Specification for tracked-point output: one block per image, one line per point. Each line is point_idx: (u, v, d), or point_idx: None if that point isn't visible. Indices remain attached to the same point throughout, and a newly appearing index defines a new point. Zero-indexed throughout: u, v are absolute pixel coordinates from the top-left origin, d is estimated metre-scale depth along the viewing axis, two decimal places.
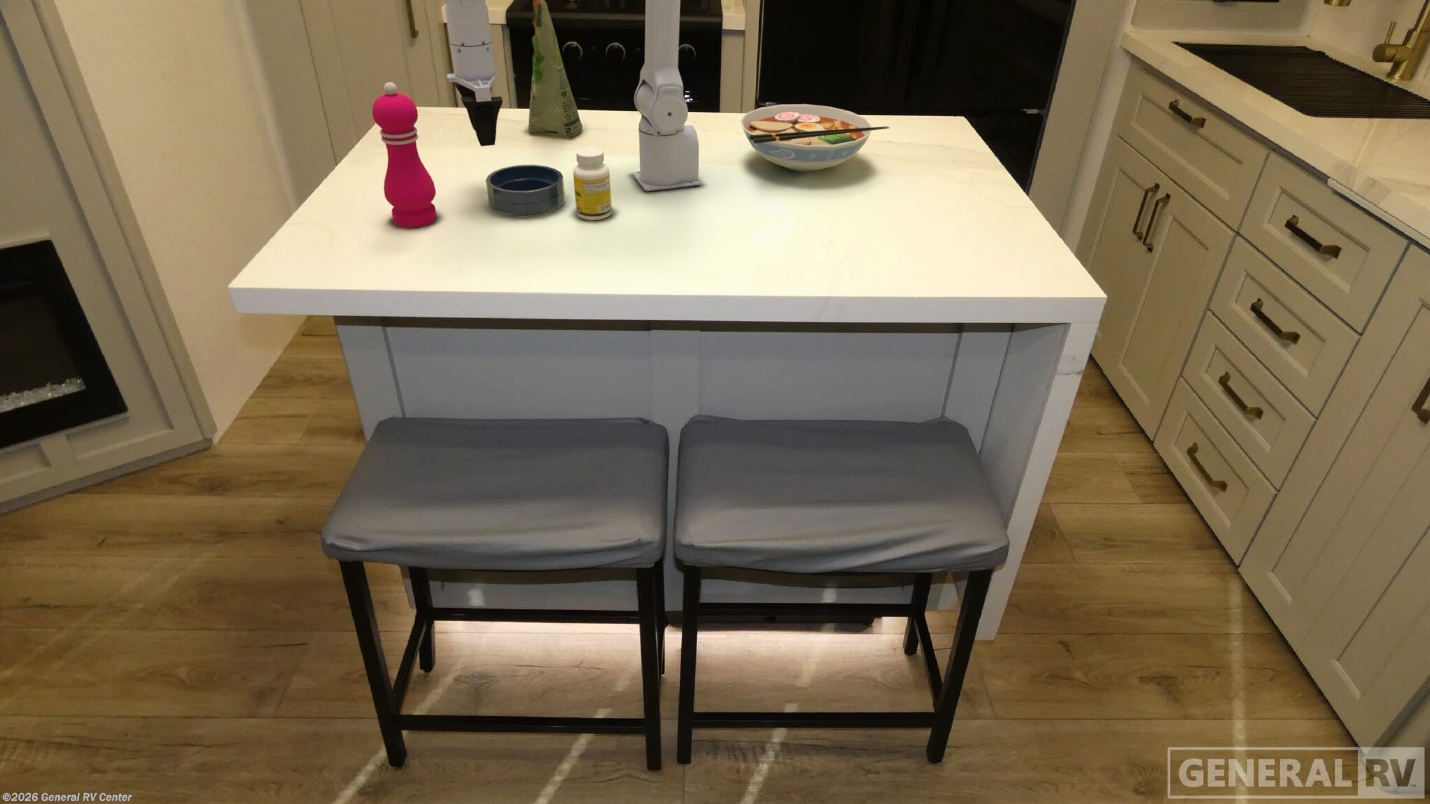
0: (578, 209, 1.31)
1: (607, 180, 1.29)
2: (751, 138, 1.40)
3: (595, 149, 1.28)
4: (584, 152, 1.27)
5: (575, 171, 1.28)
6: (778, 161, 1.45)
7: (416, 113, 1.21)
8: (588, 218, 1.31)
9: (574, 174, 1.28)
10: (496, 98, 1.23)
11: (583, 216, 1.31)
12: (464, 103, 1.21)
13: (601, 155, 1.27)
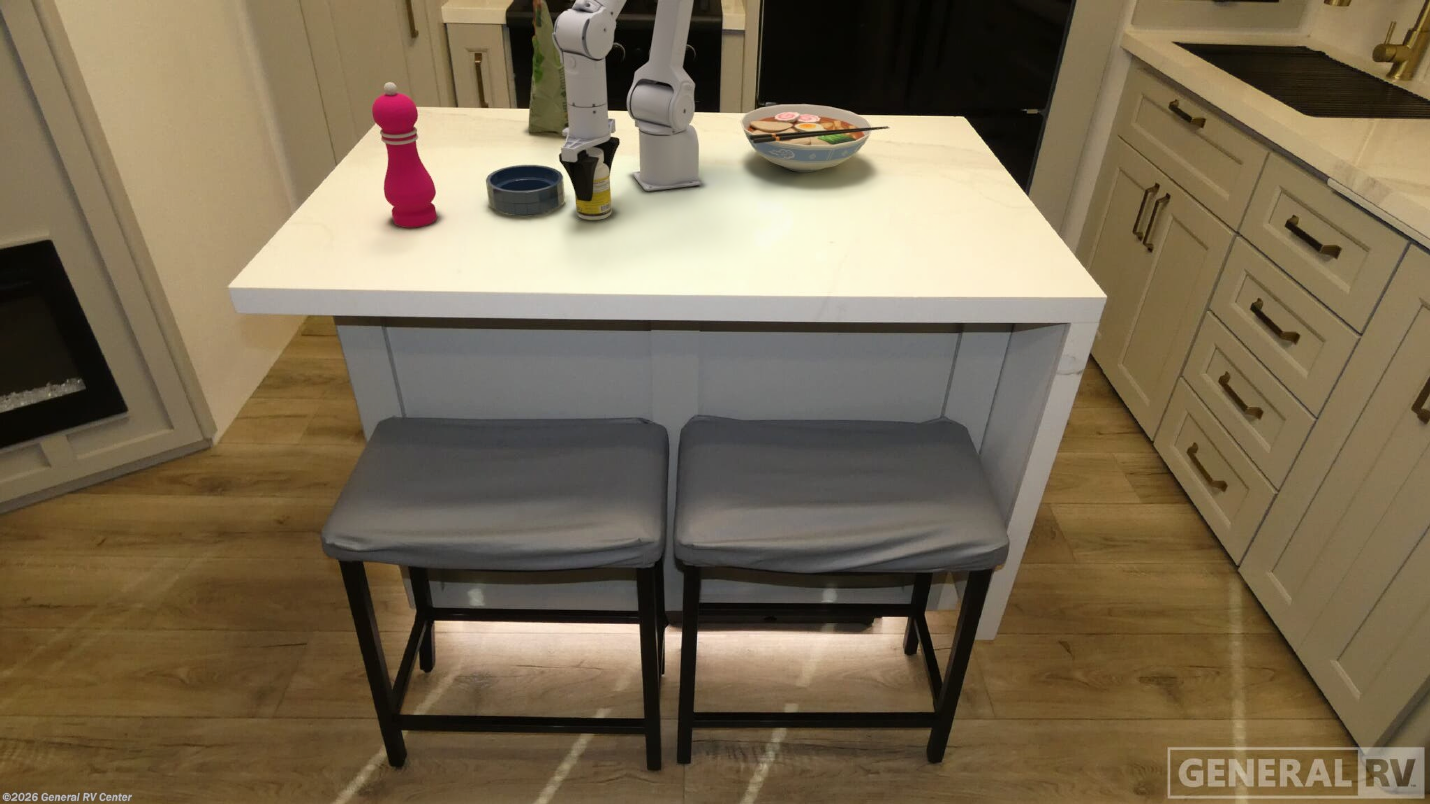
0: (578, 209, 1.31)
1: (607, 180, 1.29)
2: (751, 138, 1.40)
3: (595, 149, 1.28)
4: None
5: None
6: (778, 161, 1.45)
7: (416, 113, 1.21)
8: (588, 218, 1.31)
9: None
10: (591, 158, 1.23)
11: (583, 216, 1.31)
12: (559, 157, 1.24)
13: (601, 155, 1.27)
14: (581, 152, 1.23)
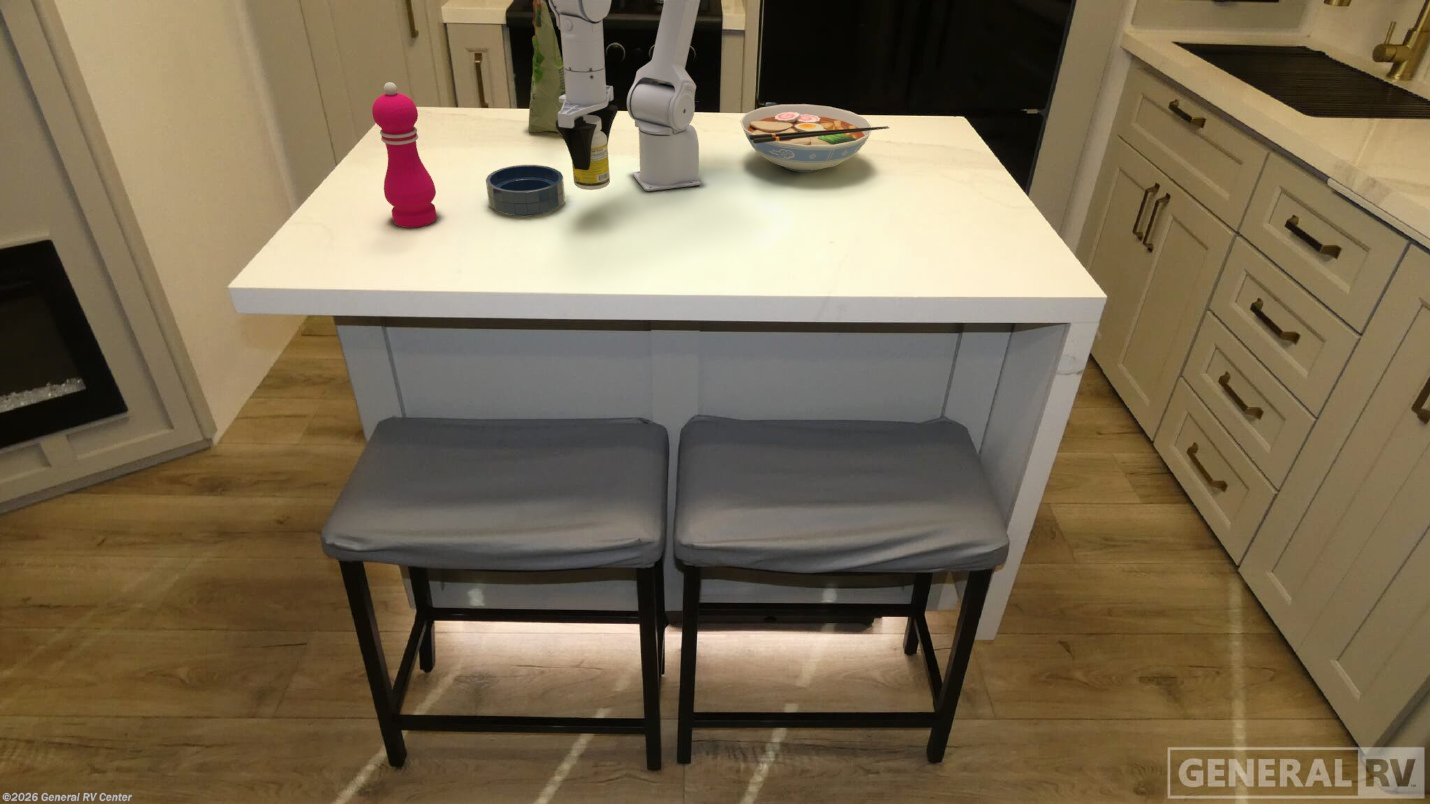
0: (575, 179, 1.28)
1: (605, 148, 1.26)
2: (751, 138, 1.40)
3: (593, 117, 1.25)
4: None
5: None
6: (778, 161, 1.45)
7: (416, 113, 1.21)
8: (586, 188, 1.28)
9: None
10: (588, 125, 1.21)
11: (580, 186, 1.28)
12: None
13: (599, 122, 1.24)
14: (578, 118, 1.20)
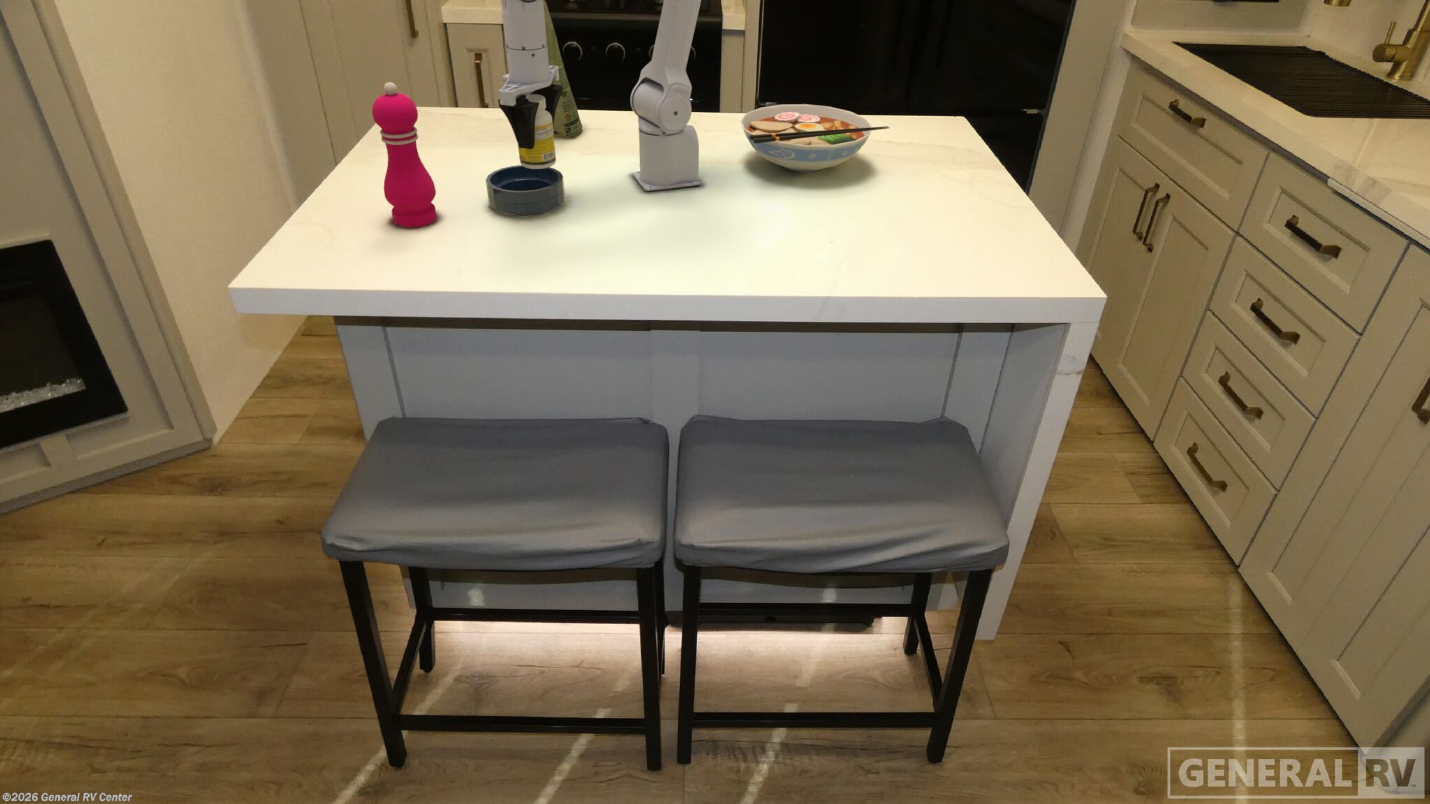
0: (521, 158, 1.29)
1: (550, 127, 1.27)
2: (751, 138, 1.40)
3: (537, 96, 1.26)
4: None
5: None
6: (778, 161, 1.45)
7: (416, 113, 1.21)
8: (531, 167, 1.29)
9: None
10: (530, 103, 1.21)
11: (526, 165, 1.29)
12: (498, 102, 1.22)
13: (542, 101, 1.25)
14: (520, 97, 1.21)
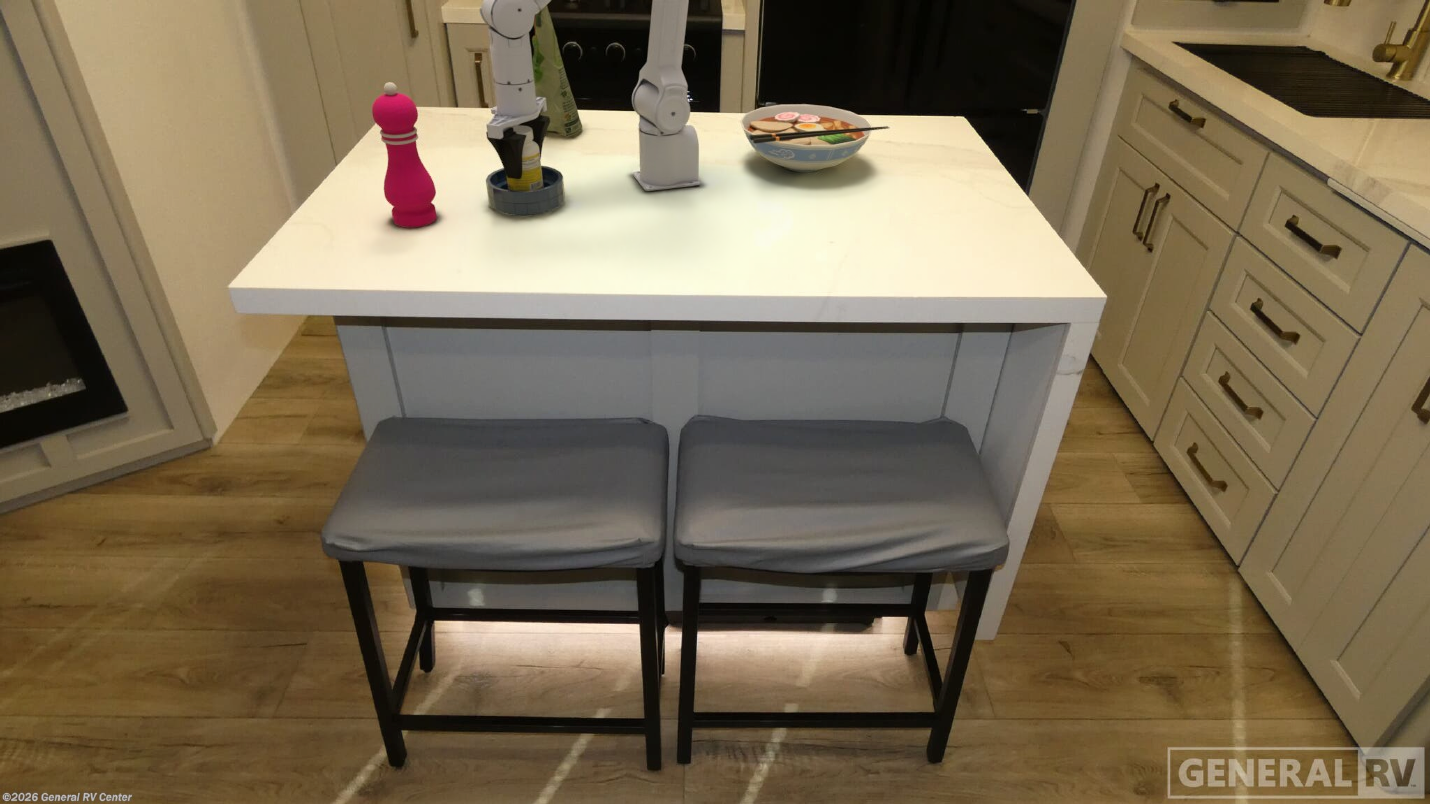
0: (509, 187, 1.32)
1: (537, 158, 1.30)
2: (751, 138, 1.40)
3: (525, 127, 1.29)
4: None
5: None
6: (778, 161, 1.45)
7: (416, 113, 1.21)
8: None
9: None
10: (518, 136, 1.25)
11: None
12: None
13: (530, 133, 1.28)
14: (508, 129, 1.25)
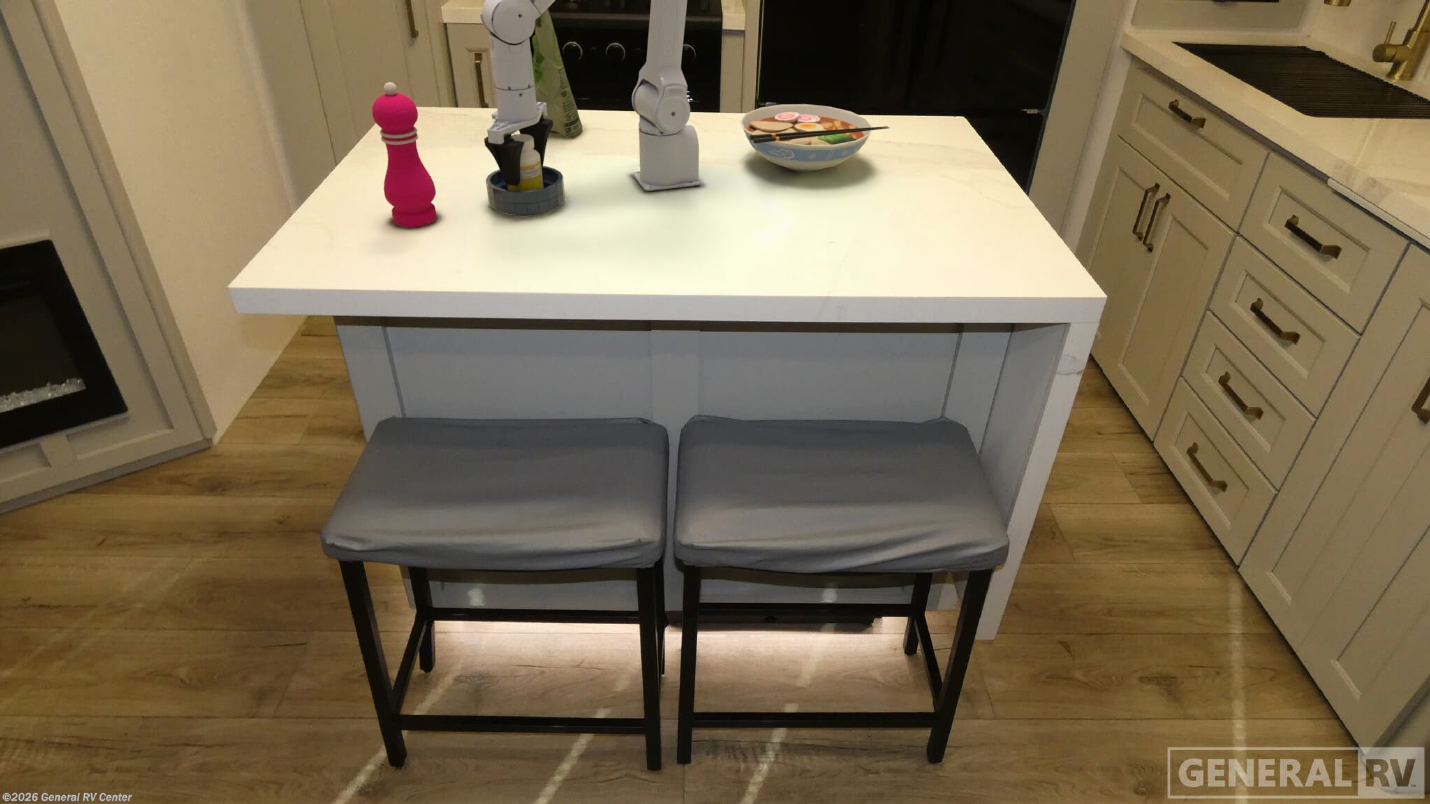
0: None
1: (538, 166, 1.31)
2: (751, 138, 1.40)
3: (526, 136, 1.30)
4: (514, 139, 1.29)
5: None
6: (778, 161, 1.45)
7: (416, 113, 1.21)
8: None
9: None
10: (516, 142, 1.25)
11: None
12: (484, 141, 1.25)
13: (531, 142, 1.29)
14: (506, 136, 1.24)
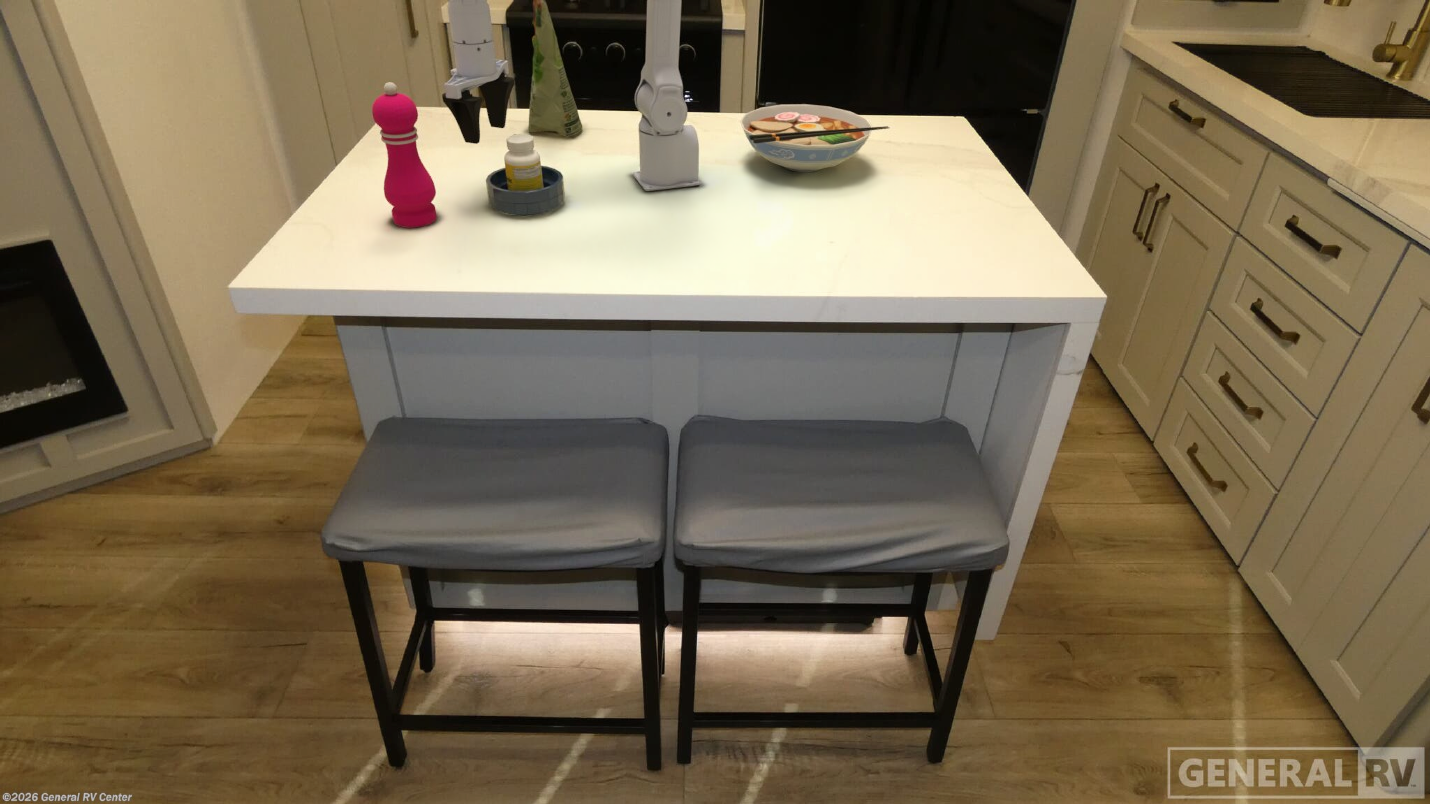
0: None
1: (538, 166, 1.31)
2: (751, 138, 1.40)
3: (526, 136, 1.30)
4: (514, 139, 1.29)
5: (505, 157, 1.30)
6: (778, 161, 1.45)
7: (416, 113, 1.21)
8: None
9: (505, 160, 1.30)
10: (474, 98, 1.23)
11: None
12: (442, 97, 1.23)
13: (531, 142, 1.29)
14: (464, 91, 1.23)
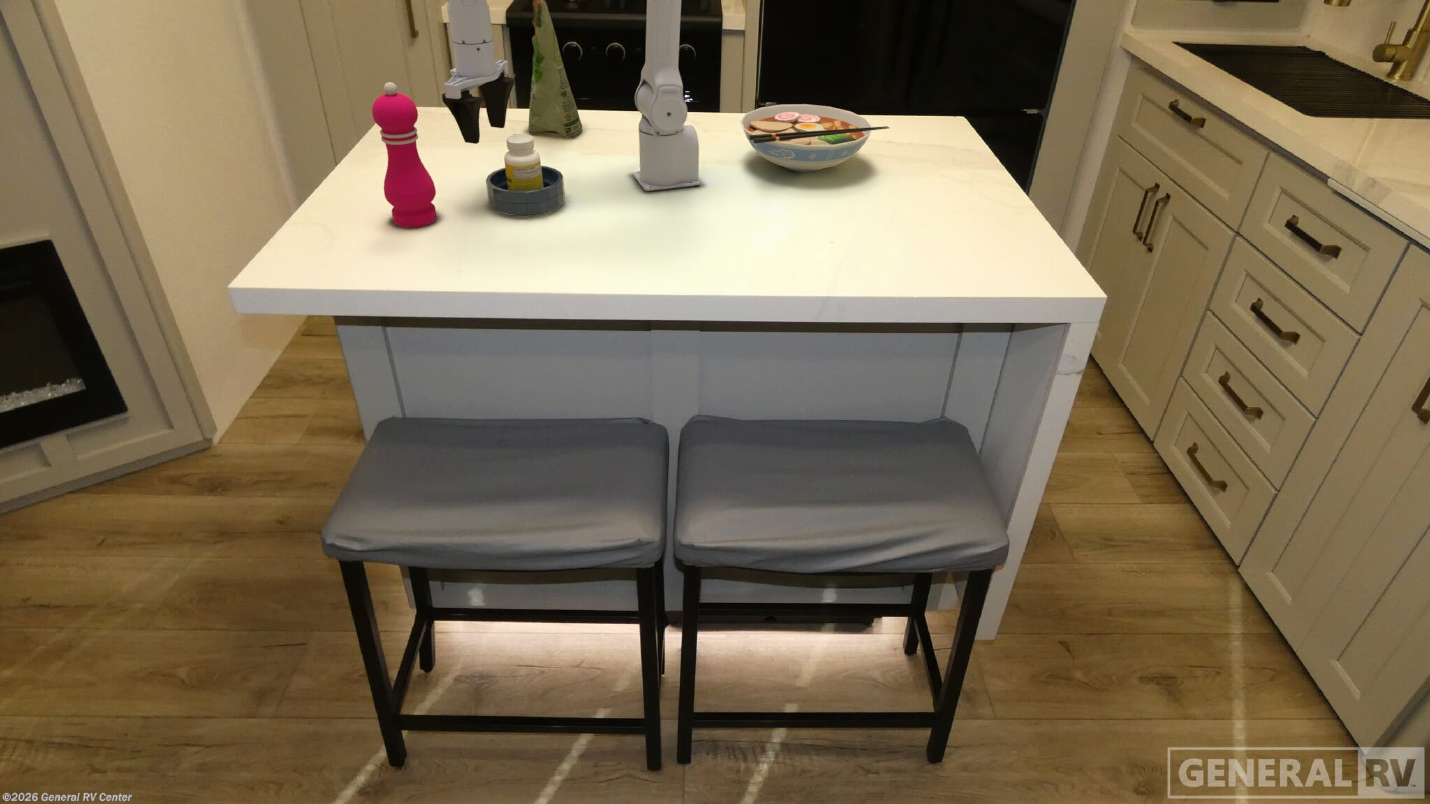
0: None
1: (538, 166, 1.31)
2: (751, 138, 1.40)
3: (526, 136, 1.30)
4: (514, 139, 1.29)
5: (505, 157, 1.30)
6: (778, 161, 1.45)
7: (416, 113, 1.21)
8: None
9: (505, 160, 1.30)
10: (474, 98, 1.23)
11: None
12: (442, 97, 1.23)
13: (531, 142, 1.29)
14: (463, 92, 1.23)
